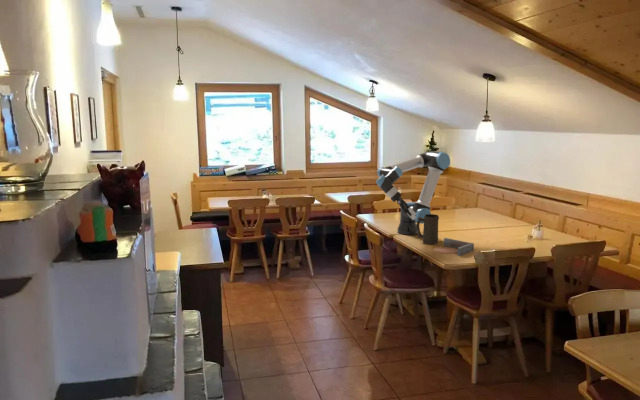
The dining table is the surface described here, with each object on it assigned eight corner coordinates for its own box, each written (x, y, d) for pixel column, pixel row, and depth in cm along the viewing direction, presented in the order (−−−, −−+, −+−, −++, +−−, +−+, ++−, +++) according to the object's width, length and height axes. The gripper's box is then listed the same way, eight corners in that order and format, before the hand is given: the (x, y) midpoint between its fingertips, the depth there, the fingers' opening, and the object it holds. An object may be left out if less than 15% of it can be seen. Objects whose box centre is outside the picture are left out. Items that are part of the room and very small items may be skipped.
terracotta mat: (441, 246, 345) (441, 245, 345) (462, 250, 334) (462, 250, 334) (428, 250, 334) (428, 249, 333) (450, 255, 323) (450, 254, 323)
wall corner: (445, 244, 349) (445, 237, 348) (473, 250, 334) (473, 243, 333) (431, 249, 336) (431, 242, 335) (459, 256, 321) (460, 248, 321)
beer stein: (436, 240, 359) (436, 213, 356) (441, 244, 349) (440, 216, 346) (415, 242, 359) (414, 214, 356) (418, 246, 348) (418, 217, 345)
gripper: (391, 195, 365) (411, 217, 365) (388, 201, 341) (410, 224, 341) (398, 188, 363) (418, 210, 363) (397, 193, 339) (418, 216, 339)
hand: (414, 217), depth 352 cm, fingers open, 13 cm apart
